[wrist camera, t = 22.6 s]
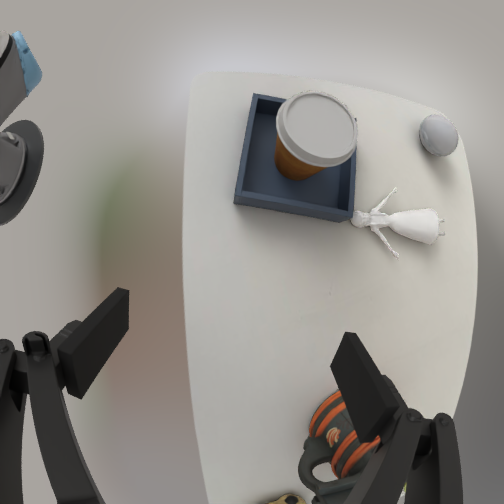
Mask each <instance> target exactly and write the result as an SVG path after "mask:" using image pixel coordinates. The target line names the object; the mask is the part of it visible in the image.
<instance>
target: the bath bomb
mask: <svg viewBox="0 0 504 504" xmlns="http://www.w3.org/2000/svg"><path fill="white" fill-rule="evenodd" d="M419 135H420V140H421V142H422V144H423V146H424V147H425V148H426V150H427V151H429V152H430V153H432V154H433V155H436V156H447V155H450V154H451V153H452V152H454V150H455V149H456V147H457V144H458V133H457V130H456V127H455V126H454V124H453V123H452V122H451V121H450V120H449V119H448V118H446V117H444V116H442V115H436V114H435V115H430V116H428V117H426V118H425V119H424V120H423V121H422V123H421V125H420V130H419Z"/></svg>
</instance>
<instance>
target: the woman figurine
mask: <svg viewBox="0 0 504 504" xmlns="http://www.w3.org/2000/svg"><path fill="white" fill-rule="evenodd" d="M396 188H397V187H396ZM396 188H394V189H393V190H392V191H391V192H390V194H389V195H388V196H387V197H386V198H385V199H383V200H382V201H381V203H380V204H379V205H378V206H377V207H375V208H374V209H371V212H370V213H365V212H362V211H359V210H355V211H353V218H351V222H352V224H353V225H354V226H356V227H359V228H361V227H364V226H370V228H371V230H372V231H374V232H375V233H376V234H377V235H378V236H379V237H380V238H381V239H382V241H383V242H384V244H385V245H386V246H387V247H388V248H389V250H390V251H391V252H392V253H393V255H394V256H395V257H396V258H397V259H398V260H399V258H398V257H397V254H398V253H397V252H395V251H393V249H392V248H391V246H390V245H389V244H388V241H387V239H386V238H385V237H384V235H383V234H382V233H381V232H380V230H379V228H382V227H386V226H389V227H390V228H391V229H392V230H393V231H394V232H396V233H398V234H400V235H403V236H405V237H408V238H410V239H413V240H416V241H420V242H423V243H427V244H430V245H432V244H433V243H434V242H435V241H436V240H437V237H438V236H443V235H445V232H439V222H444V221H445V220H444V219H439V217H438V215H437V213H436V211H435V210H433V209H431V208H425V209H416V210H408V211H401V212H396V213H393V214H391V215H390V216H388V214H386V213H381V212H379V210H380V208H381V207H382V206H383V205H384V204H385V203H386V202H387V200H388V198H389V197H390V196H391V195H392V194H393V193H396V192H397V191H398V190H397V191H395V190H396ZM398 255H400V254H398Z"/></svg>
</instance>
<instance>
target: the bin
mask: <svg viewBox="0 0 504 504" xmlns="http://www.w3.org/2000/svg"><path fill="white" fill-rule="evenodd" d="M285 101H286V99H282V98H277V97H272V96H266V95H261V94H255V93H253V97H252V102H251V107H250V112H249V117H248V123H247V128H246V133H245V139H244V144H243V150H242V155H241V161H240V166H239V172H238V178H237V183H236V189H235V195H234V204H240V205H246V206H252V207H258V208H264V209H270V210H275V211H281V212H287V213H292V214H297V215H303V216H308V217H313V218H318V219H323V220H328V221H333V222H338V223H340V222H343V221H345V220H348V219H351V218H353V209H354V195H355V176H356V148H355V151H354V152H353V154H352V155H351V157H350V158H349V159H348V160H346V161H345V162H343V163H342V164H339V165H336V166H332V167H327V168H325V169H323V170H321V171H320V172H318V173H316V174H314V175H312V176H310V177H309V178H307V179H305V180H299V181H296V180H291V179H288V178H286V177H285V176H283V175H282V174H281V173H280V172H279V171H278V169H277V168H276V165H275V161H274V154H275V147H276V139H277V128H276V117H277V113H278V110H279V108H280V107H281V105H282V104H283V103H284V102H285ZM355 120H356V118H355Z"/></svg>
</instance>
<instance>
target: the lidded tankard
mask: <svg viewBox="0 0 504 504" xmlns="http://www.w3.org/2000/svg"><path fill="white" fill-rule="evenodd" d="M309 433H310V436H309V437H308V439H306V441H305V443H304V447H303V449H304V450H305V451H304V453H303V455H302V457H301V459H300V462H299V466H298V473H299V477H300V480H301V481H302V483H303V484H304V485H305V486H306V487H307V488H309V489H310V490H312V491H313V492H314V493H315V494H316V496H314V498H313V500H312V504H344V502H345V501H346V499H347V497H348V496H349V494H350V493H351V491H352V489H353V488H354V486H355V485H356V483H357V481H358V479H359V478H360V476H361V474H362V473H363V471H364V469H365V467H366V465H367V463H368V462H369V460H370V458H371V456H372V454H373V453H370V452H371V451H372V450H373V449H374V448H375V446H376V445H377V444H378V443H379V442H380V437H379V435H378V436H377V437H376V439H375V440H374V441H373V442H370V443H361V444H360V443H359V440H358V437H357V435H356V432H355V429H354V427H353V424H352V421H351V419H350V416H349V413H348V411H347V408H346V406H345V403H344V400H343V398H342V395H341V393H340V391H338V392H336V393H335V394H333V395H332V396H330V397H329V398H328V399H326V400H325V401H324V402H323V403H322V404H321V406H319V408H318V409H317V411H316V412H315V414H314V415H313V418H312V420H311V424H310V428H309ZM326 462H329V463H330V465H331V468H332V471H333V473H334V475H335V476H336V477H337V478H338V480H334V481H330V482H322V481H319V480H317V479H316V478H315V477H314V476H313V473H312V470H313V469H314V467H316V466H317V465H319V464H322V463H326ZM406 482H407V479H406ZM406 482H405V483H406Z"/></svg>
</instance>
